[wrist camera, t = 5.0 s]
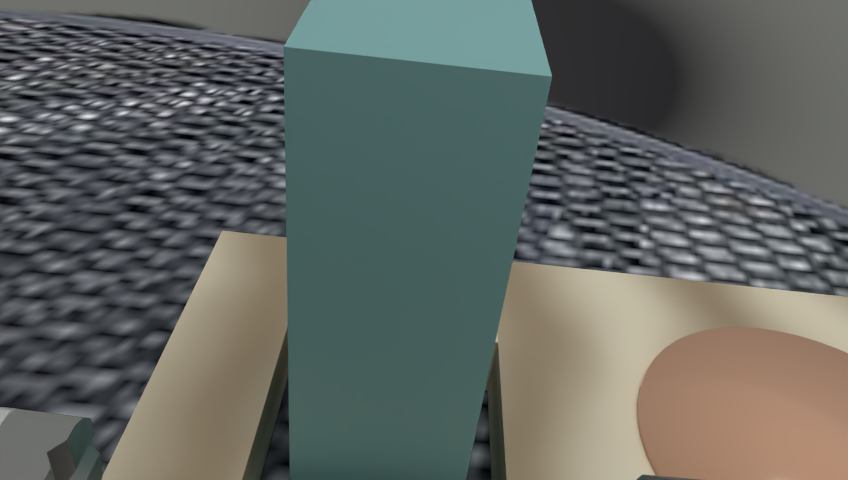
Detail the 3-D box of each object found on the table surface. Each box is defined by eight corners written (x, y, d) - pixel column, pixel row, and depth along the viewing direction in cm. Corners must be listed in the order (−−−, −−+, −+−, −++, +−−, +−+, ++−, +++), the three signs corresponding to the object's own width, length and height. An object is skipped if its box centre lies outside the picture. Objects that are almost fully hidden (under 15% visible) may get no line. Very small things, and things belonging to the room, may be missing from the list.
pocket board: (21, 744, 13) (-5, 695, 12) (225, 278, 25) (222, 230, 24) (1175, 846, 14) (1255, 810, 13) (849, 343, 25) (875, 300, 24)
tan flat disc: (686, 616, 14) (690, 608, 14) (609, 320, 22) (612, 312, 22) (1119, 657, 15) (1130, 650, 14) (898, 350, 22) (903, 343, 22)
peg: (290, 523, 17) (283, 46, 11) (317, 399, 21) (325, -26, 14) (453, 538, 18) (552, 76, 11) (454, 413, 21) (530, -3, 14)
